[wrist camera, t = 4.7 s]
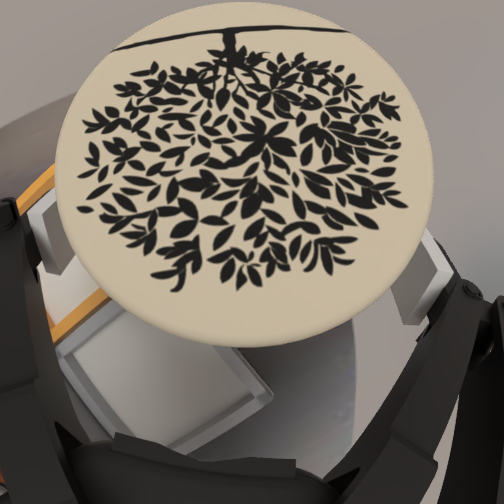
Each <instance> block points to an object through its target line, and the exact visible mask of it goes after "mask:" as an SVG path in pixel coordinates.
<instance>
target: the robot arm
mask: <svg viewBox="0 0 504 504" xmlns="http://www.w3.org/2000/svg"><path fill="white" fill-rule="evenodd" d="M74 256H75V252H74V251H73V249H72V247H71V245H70V243H69V240H68V238H67V236H66V233H65V231H64V228H63V225H62V222H61V218H60V215H59V211H58V206H57V200H56V194H55V187H54V188H52V189H50V190H48V191H47V192H46V193H44V194H43V195H42V196H41V197H40V198H39V199H38V200H37V201H36V202H35V203H33V204H32V205H31V206H30V207H29V208H28V209H27V210H26V211H25V212H24V213H23V214H22V215H21V216H20V214H19V210H18V207H17V203H16V200H15V198H13V197H7V198H3V199H0V470H1V473H2V476H3V479H4V482H5V485H6V488H7V492H5V493H4V494H2V495H0V504H420V502H421V500H422V499H423V497H424V495H425V493H426V492H427V490H428V488H429V486H430V484H431V482H432V480H433V478H434V476H435V474H436V472H437V469H438V462H437V461H435V460H434V459H433V455H434V453H435V451H436V448H437V446H438V444H439V442H440V440H441V438H442V435H443V433H444V430H445V428H446V426H447V424H448V421H449V419H450V416H451V414H452V411H453V409H454V406H455V403H456V401H457V398H458V395H459V402H458V410H457V417H456V424H455V430H454V436H453V441H452V447H451V452H450V457H449V461H448V465H447V470H446V474H445V478H444V482H443V485H442V489H441V492H440V496H439V499H438V502H437V504H504V296H498V297H497V299H496V300H495V301H494V303H493V304H492V303H489V302H487V301H485V300H483V295H482V293H481V291H480V290H479V289H478V287H477V286H476V285H474V284H473V283H472V282H470V281H468V280H465V279H461V277H460V275H459V273H458V272H457V270H456V269H455V267H454V265H453V263H452V262H451V261H450V259H449V257H448V255H446V252H445V250H444V249H443V247H442V246H441V245H440V244H439V243H438V242H437V241H436V240H435V239H434V238H433V237H432V236H431V234H430V233H429V231H428V230H427V228H425V231H424V234H423V236H422V238H421V241H420V243H419V245H418V247H417V249H416V251H415V253H414V255H413V256H412V258H411V260H410V261H409V263H408V265H407V266H406V268H405V269H404V271H403V272H402V273H401V274H400V276H399V277H398V278H397V279H396V281H395V282H394V283H393V284H392V285H391V286H390V287H391V290H392V293H393V296H394V298H395V301H396V304H397V307H398V310H399V313H400V316H401V319H402V322H403V324H404V325H420V323H421V322H422V320H423V319H424V318H425V316H426V315H427V317H428V319H429V324H428V325H427V327H426V328H425V329H424V331H423V332H422V333H421V334H420V336H419V337H418V339H417V340H416V341H417V342H418V343H417V345H416V347H415V349H414V351H413V353H412V355H411V357H410V358H409V360H408V362H407V364H406V366H405V368H404V369H403V371H402V373H401V375H400V376H399V378H398V380H397V381H396V383H395V385H394V386H393V388H392V390H391V391H390V393H389V395H388V396H387V398H386V399H385V401H384V402H383V404H382V406H381V407H380V409H379V410H378V412H377V413H376V415H375V416H374V417H373V419H372V420H371V422H370V423H369V425H368V426H367V428H366V429H365V431H364V432H363V433H362V435H361V436H360V437H359V439H358V440H357V441H356V443H355V444H354V445H353V447H352V448H351V449H350V451H349V452H348V453H347V454H346V456H345V457H344V458H343V459H342V460H341V461H340V462H339V463H338V464H337V465H336V466H335V467H334V468H333V469H332V470H331V471H330V472H329V473H328V474H327V475H326V476H325V477H324V478H323V479H321V478H320V477H318V476H316V475H314V474H312V473H310V472H308V471H305V470H302V469H299V468H296V459H273V458H257V457H248V458H241V459H233V460H225V461H215V462H200V461H197V460H195V459H192V458H190V457H187V456H185V455H183V454H181V453H178V452H176V451H174V450H172V449H170V448H167V447H165V446H163V445H161V444H159V443H157V442H152V441H148V440H144V439H140V438H136V437H133V436H129V435H125V434H122V433H118V432H115V435H114V439H113V440H100V441H95V442H91V441H90V439H89V437H88V435H87V434H86V432H85V430H84V429H83V427H82V426H81V424H80V422H79V420H78V418H77V415H76V413H75V410H74V408H73V405H72V402H71V399H70V397H69V394H68V391H67V388H66V385H65V382H64V379H63V375H62V372H61V369H60V366H59V362H58V359H57V355H56V351H55V348H54V344H53V340H52V336H51V332H50V327H49V323H48V318H47V314H46V309H45V304H44V298H43V293H42V287H41V280H40V274H39V271H38V269H37V266H38V265H39V264H40V262H41V261H42V263H43V266H44V268H45V271H46V273H50V274H54V275H59V276H61V274H62V273H63V271H64V270H65V269H66V267H67V266H68V264H69V263H70V261H71V260H72V259H73V257H74ZM491 349H492V350H491ZM490 351H491V352H490Z"/></svg>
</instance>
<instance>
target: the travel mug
mask: <svg viewBox="0 0 504 504" xmlns="http://www.w3.org/2000/svg"><path fill="white" fill-rule="evenodd" d="M54 179H55V194H56V200H57V206H58V211H59V215H60V218H61V222H62V225H63V228H64V231H65V233H66V236H67V238H68V240H69V243H70V245H71V247H72V249H73V251H74V252H75V254H76V256H77V257H78V259H79V261H80V263H81V264H82V266H83V267H84V268H85V270H86V271H87V272H88V274H89V275H90V276H91V278H92V279H93V280H94V281H95V282H96V283H97V284H98V286H99V287H100V288H101V289H102V290H103V291H104V292H105V293H106V294H107V295H108V296H109V297H111V298H112V299H113V300H114V301H115V302H117V303H118V304H119V305H120V306H121V307H123V308H124V309H125V310H127V311H128V312H130V313H131V314H133V315H134V316H136V317H138V318H139V319H141V320H142V321H144V322H146V323H148V324H150V325H152V326H154V327H156V328H158V329H160V330H162V331H164V332H167V333H170V334H173V335H175V336H178V337H181V338H184V339H187V340H191V341H196V342H200V343H204V344H209V345H217V346H225V347H265V346H274V345H281V344H286V343H290V342H295V341H299V340H303V339H306V338H309V337H312V336H315V335H318V334H321V333H324V332H326V331H328V330H330V329H332V328H334V327H336V326H338V325H340V324H342V323H344V322H346V321H348V320H349V319H351V318H353V317H354V316H356V315H357V314H359V313H360V312H362V311H363V310H365V309H366V308H367V307H368V306H370V305H371V304H372V303H373V302H375V301H376V300H377V299H378V298H379V297H380V296H381V295H382V294H383V293H384V292H385V291H386V290H387V289H388V288H389V287H390V286H391V285H392V284H393V283H394V282H395V281H396V279H397V278H398V277H399V276H400V274H401V273H402V272H403V271H404V269H405V268H406V266H407V265H408V263H409V261H410V260H411V258H412V256H413V255H414V253H415V251H416V249H417V247H418V245H419V243H420V241H421V238H422V236H423V234H424V231H425V228H426V225H427V221H428V218H429V214H430V209H431V204H432V198H433V188H434V166H433V157H432V150H431V146H430V140H429V136H428V133H427V130H426V126H425V123H424V121H423V118H422V116H421V114H420V111H419V109H418V107H417V105H416V103H415V101H414V99H413V97H412V96H411V94H410V92H409V90H408V89H407V87H406V86H405V85H404V83H403V82H402V80H401V79H400V77H399V76H398V75H397V74H396V72H395V71H394V70H393V69H392V68H391V67H390V65H389V64H388V63H387V62H386V61H385V60H384V59H383V58H382V57H381V56H380V55H379V54H378V53H376V52H375V51H374V50H373V49H372V48H371V47H370V46H368V45H367V44H366V43H364V42H363V41H362V40H360V39H359V38H358V37H356V36H355V35H353V34H352V33H350V32H348V31H347V30H345V29H343V28H341V27H339V26H338V25H336V24H334V23H332V22H330V21H328V20H325V19H323V18H321V17H318V16H316V15H313V14H310V13H307V12H304V11H301V10H298V9H294V8H290V7H285V6H280V5H274V4H267V3H255V2H231V3H219V4H212V5H206V6H201V7H196V8H192V9H189V10H185V11H182V12H179V13H176V14H173V15H170V16H168V17H165V18H163V19H161V20H159V21H157V22H154V23H152V24H150V25H149V26H147V27H145V28H143V29H141V30H140V31H138V32H137V33H135V34H134V35H132V36H131V37H129V38H127V39H126V40H125V41H124V42H122V43H121V44H120V45H119V46H117V47H116V48H115V49H114V50H113V51H111V52H110V53H109V54H108V55H107V56H106V57H105V58H104V59H103V60H102V61H101V62H100V63H99V64H98V66H97V67H96V68H95V69H94V70H93V71H92V72H91V74H90V75H89V77H88V78H87V79H86V80H85V82H84V83H83V85H82V87H81V88H80V89H79V91H78V93H77V94H76V96H75V98H74V100H73V102H72V104H71V106H70V108H69V110H68V112H67V115H66V117H65V120H64V123H63V125H62V129H61V132H60V136H59V140H58V144H57V150H56V157H55V172H54Z"/></svg>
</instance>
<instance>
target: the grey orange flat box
mask: <svg viewBox="0 0 504 504" xmlns="http://www.w3.org/2000/svg"><path fill="white" fill-rule="evenodd" d="M54 172H55V163H54V164H53V165H52V166H51V167H50V168H49V169H47V170H46V171H45V172H44V173H43V174H42V175H41V176H40V177H39V178H38V179H37V180H36V181H35V182H34V183H33V184H32V185H31V186H30V187H29V188H28V189H27V190H26V191H25V192H24V193H23V194H22V195H21V196H20V197H19V198H18V199H17V200H16V203H17V207H18V210H19V214H20V216H21V215H22V214H23V213H24V212H25V211H26V210H27V209H28V208H29V207H30V206H31V205H32V204H33V203H35V202H36V201H37V200H38V199H39V198H40V197H41V196H42V195H43V194H44V193H46V192H47V191H48V190H50V189H52V188H54V187H55V179H54ZM37 269H38V271H39V274H40V280H41V287H42V293H43V298H44V304H45V309H46V314H47V318H48V323H49V327H50V332H51V336H52V340H53V344H54V348H55V351H56V355H57V359H58V362H59V366H60V369H61V372H62V375H63V379H64V382H65V385H66V388H67V391H68V394H69V397H70V399H71V402H72V405H73V408H74V410H75V413H76V415H77V418H78V420H79V422H80V424H81V426H82V427H83V429H84V430H85V432H86V434H87V435H88V437H89V439H90V441H91V442H95V441H100V440H113V439H114V435H115V432H118V433H122V434H125V435H129V436H133V437H136V438H140V439H144V440H148V441H152V442H157V443H159V444H161V445H163V446H165V447H167V448H170V449H172V450H174V451H176V452H178V453H181V454H183V455H187V454H189V453H190V452H192V451H194V450H196V449H197V448H199V447H201V446H203V445H204V444H206V443H208V442H209V441H211V440H213V439H215V438H216V437H218V436H219V435H221V434H223V433H224V432H226V431H228V430H229V429H231V428H232V427H234V426H235V425H237V424H239V423H240V422H242V421H243V420H245V419H246V418H248V417H249V416H251V415H252V414H254V413H255V412H257V411H258V410H260V409H261V408H263V407H264V406H266V405H267V404H268V403H270V402H271V401H273V400H274V399H273V396H274V394H273V392H272V390H271V389H270V388H269V387H268V386H267V384H266V383H265V382H264V381H263V380H262V378H261V377H260V376H259V375H258V374H257V372H256V371H255V370H254V369H253V368H252V366H251V365H250V364H249V363H248V361H247V360H246V359H245V358H244V357H243V355H242V354H241V353H240V352H239V350H238V349H237V348H236V347H225V346H217V345H209V344H204V343H200V342H196V341H191V340H187V339H184V338H181V337H178V336H175V335H173V334H170V333H167V332H164V331H162V330H160V329H158V328H156V327H154V326H152V325H150V324H148V323H146V322H144V321H142V320H141V319H139V318H138V317H136V316H134V315H133V314H131V313H130V312H128V311H127V310H125V309H124V308H123V307H121V306H120V305H119V304H118V303H117V302H115V301H114V300H113V299H112V298H111V297H109V296H108V295H107V294H106V293H105V292H104V291H103V290H102V289H101V288H100V287H99V286H98V284H97V283H96V282H95V281H94V280H93V279H92V278H91V276H90V275H89V274H88V272H87V271H86V270H85V268H84V267H83V266H82V264H81V263H80V261H79V259H78V257H77V256H76V254H75V256H74V257H73V259H72V260H71V261H70V263H69V264H68V266H67V267H66V269H65V270H64V271H63V273H62V274H61V276H59V275H54V274H50V273H46V271H45V268H44V266H43V263H42V261H41V262H40V264H39V265H38V266H37Z"/></svg>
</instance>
